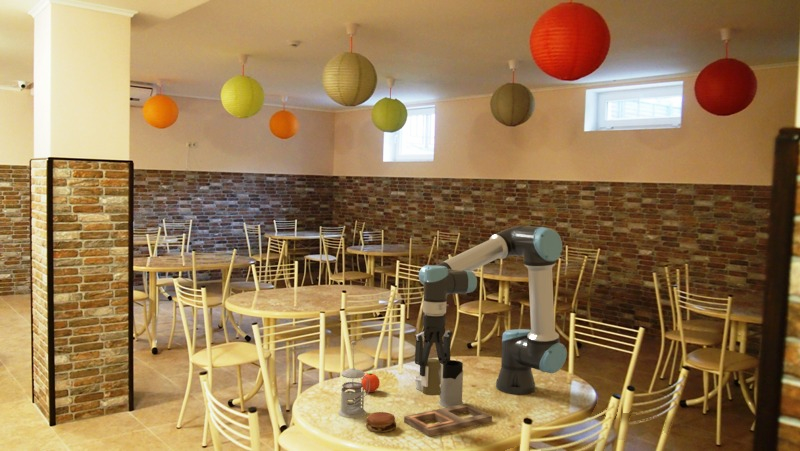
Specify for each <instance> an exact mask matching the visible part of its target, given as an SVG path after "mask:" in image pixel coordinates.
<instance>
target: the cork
mask: <svg viewBox="0 0 800 451" xmlns="http://www.w3.org/2000/svg"><path fill="white" fill-rule="evenodd" d="M440 365H441V364H440V361H439V360H438V358H428V361H427V365H426V366H428V367H429V368H428V387H425V386H423V391H421V393H422V394H424V395H426V396H432V397H433V396H439V394H441V384H440V380H439V369H440Z"/></svg>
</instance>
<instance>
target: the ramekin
mask: <svg viewBox="0 0 800 451" xmlns="http://www.w3.org/2000/svg"><path fill="white" fill-rule="evenodd" d="M414 382H415V384H414V385H415V386H414V387H415V389H417V390H418V391H421V392H422V391H423V385H421V375H420V374H417V375H415V376H414Z"/></svg>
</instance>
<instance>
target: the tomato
mask: <svg viewBox="0 0 800 451" xmlns="http://www.w3.org/2000/svg"><path fill="white" fill-rule="evenodd" d="M364 376H366V377H367V378H368V379H369V380H368V379H367V378H365V377H364ZM364 376H363V377H364V380H361V382H360V383H361V384H363V387H362V388H363V389H364V391H365V390H366V387H367V390H366V392H367V393H368V391H369V393H373V392H375V391H377V390H378V388H379V386H380V379H379V377H378V375H376V374H375V373H373V372H367V373H365V375H364ZM363 377H361V379H363ZM366 379H367V381H366ZM369 381H370V390H369ZM367 382H368V383H367Z"/></svg>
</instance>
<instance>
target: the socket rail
mask: <svg viewBox="0 0 800 451" xmlns="http://www.w3.org/2000/svg"><path fill="white" fill-rule="evenodd" d="M465 413H467V414H469V415H471V416H470V417H465V418H462V417H460V416H459V415H461V414H465ZM433 420H434V421H436V422H438V423H434V424H429V425H428V424H426V423H425V422H430V421H433ZM403 422H404V424H406V425H408V426H409V427H412V428H413V429H415V430H417V431H418V432H420V433H421V434H424V435H425V436H427V437H433V436H437V435H441V434H446V433H450V432H455V431H459V430H463V429H467V428H472V427H476V426H480V425H484V424H490V423H492V422H493V415H491V414H489V413H488V412H487V413H486V412H484V411H482V410H481V409H478V408H476V407H474V406H472V405H470V404H468V403H463V404H461V405H456V406H452V407H442V408H438V409H433V410H428V411H423V412H419V413H414V414H409V415H405V416H404V417H403Z"/></svg>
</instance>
